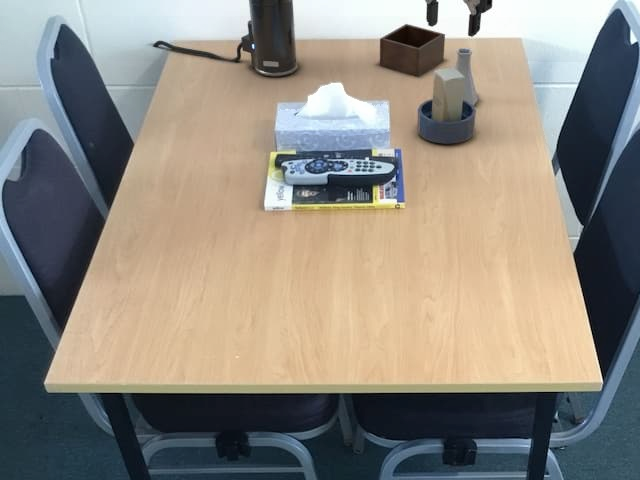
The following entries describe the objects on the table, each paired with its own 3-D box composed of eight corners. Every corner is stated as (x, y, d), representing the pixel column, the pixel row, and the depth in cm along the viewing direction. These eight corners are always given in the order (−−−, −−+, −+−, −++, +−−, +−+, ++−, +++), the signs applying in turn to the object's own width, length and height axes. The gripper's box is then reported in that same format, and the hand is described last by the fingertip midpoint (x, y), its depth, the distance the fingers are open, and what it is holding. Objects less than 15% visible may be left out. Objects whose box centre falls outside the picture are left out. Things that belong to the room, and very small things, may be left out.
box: (430, 126, 172) (433, 69, 164) (449, 122, 173) (453, 65, 165) (441, 137, 169) (445, 80, 160) (461, 133, 170) (465, 76, 162)
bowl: (406, 135, 170) (407, 113, 167) (436, 114, 176) (438, 92, 173) (454, 151, 166) (456, 128, 163) (484, 129, 172) (486, 106, 169)
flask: (478, 93, 183) (482, 44, 175) (477, 109, 178) (482, 58, 171) (444, 92, 183) (447, 42, 176) (442, 107, 179) (445, 57, 171)
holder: (379, 65, 192) (379, 38, 188) (405, 49, 198) (406, 23, 194) (418, 76, 188) (419, 49, 184) (443, 60, 194) (445, 34, 190)
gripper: (506, -71, 144) (496, 32, 156) (434, -86, 149) (430, 15, 162) (483, -60, 140) (475, 45, 152) (410, -75, 145) (408, 28, 158)
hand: (452, 30), depth 157 cm, fingers open, 8 cm apart
